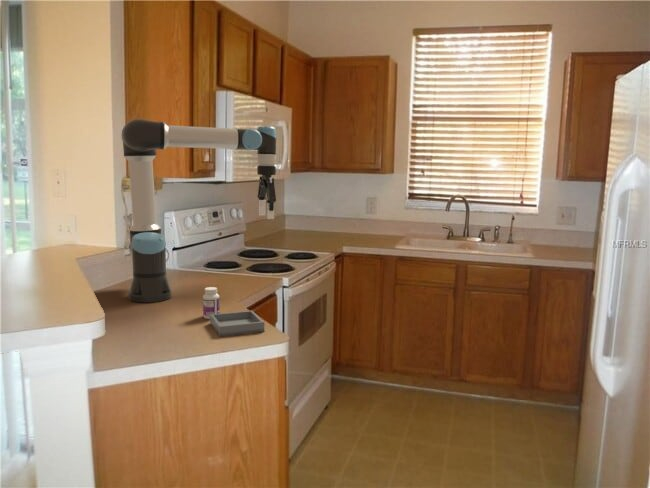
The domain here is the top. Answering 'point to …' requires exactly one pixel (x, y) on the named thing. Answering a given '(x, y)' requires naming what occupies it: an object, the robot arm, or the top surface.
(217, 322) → the bin
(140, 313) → the top surface
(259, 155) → the robot arm
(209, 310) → the pill bottle
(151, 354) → the top surface
